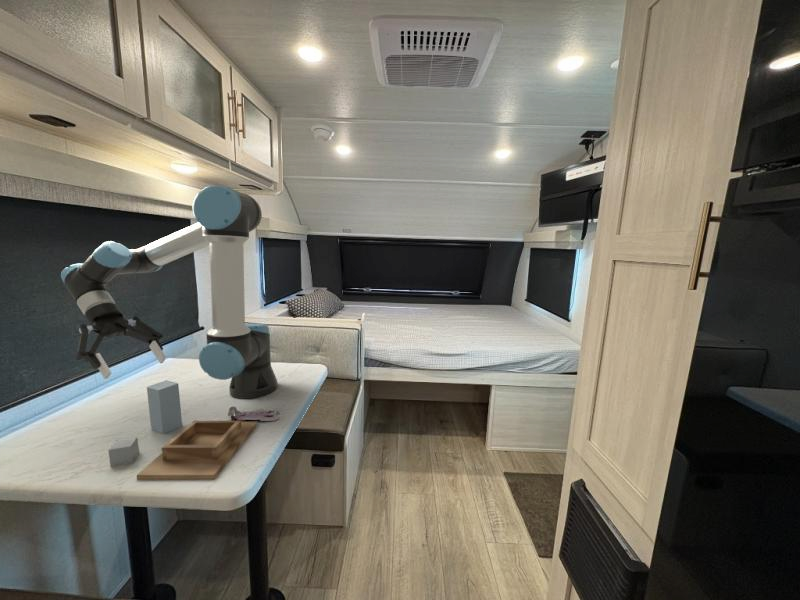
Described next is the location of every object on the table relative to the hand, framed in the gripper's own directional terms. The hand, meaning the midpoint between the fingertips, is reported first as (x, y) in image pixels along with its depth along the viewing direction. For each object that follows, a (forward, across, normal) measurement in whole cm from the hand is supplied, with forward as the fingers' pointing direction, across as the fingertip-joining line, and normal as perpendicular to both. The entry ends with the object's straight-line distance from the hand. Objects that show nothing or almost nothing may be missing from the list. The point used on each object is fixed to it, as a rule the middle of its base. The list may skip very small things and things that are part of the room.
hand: (137, 367), depth 92 cm
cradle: (+31, +2, +10) cm, 33 cm away
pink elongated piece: (+31, -13, +9) cm, 35 cm away
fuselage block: (+18, 0, -3) cm, 18 cm away
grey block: (+22, +13, +1) cm, 26 cm away
